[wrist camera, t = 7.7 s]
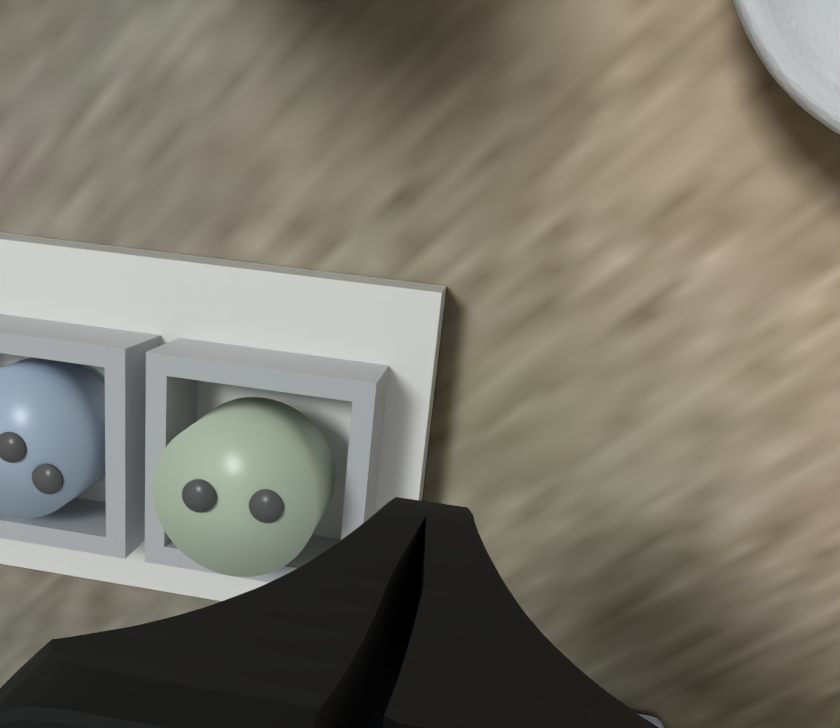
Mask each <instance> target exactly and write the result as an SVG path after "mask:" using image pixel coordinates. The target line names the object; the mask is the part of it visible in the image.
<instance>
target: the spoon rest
mask: <svg viewBox="0 0 840 728" xmlns="http://www.w3.org/2000/svg"><path fill="white" fill-rule="evenodd" d="M732 1H733V4H734V6H735V9H736V11H737V13H738V16H739V18H740V21H741V23H742V25H743V28H744V30H745V32H746V35H747V36H748V38H749V40H750V42H751V44H752V45H753V47H754V49H755V51H756V53H757V54H758V56H759V57H760V59H761V61H762V62H763V64H764V65H765V67H766V69H767V70H768V71H769V73H770V74H771V75H772V77H773V78H774V79H775V81H776V82H777V83H778V84H779V85H780V86H781V87H782V88H783V89H784V90H785V91H786V92H787V94H788V95H789V96H790V97H791V98H792V99H793V100H794V101H795V102H796V103H797V104H798V105H799V106H801V107H802V108H803V109H804V110H805V111H806V112H808V113H809V114H810V115H811V116H813V117H814V118H815V119H817V120H818V121H820V122H821V123H822V124H824V125H825V126H827V127H828V128H829V129H831V130H833V131H834V132H836V133H838V134H839V135H840V0H732Z"/></svg>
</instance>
